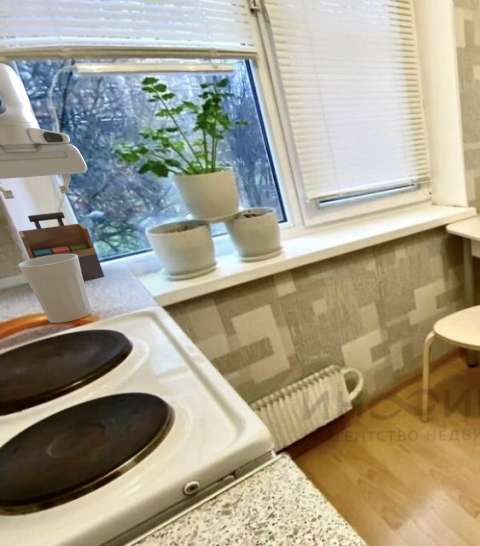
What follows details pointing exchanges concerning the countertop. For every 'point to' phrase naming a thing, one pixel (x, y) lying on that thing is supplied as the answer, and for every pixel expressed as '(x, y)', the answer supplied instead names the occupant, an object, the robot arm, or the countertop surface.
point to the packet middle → (60, 250)
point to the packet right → (77, 247)
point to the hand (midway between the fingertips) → (38, 195)
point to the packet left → (42, 252)
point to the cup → (58, 286)
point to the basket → (55, 236)
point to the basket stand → (90, 267)
